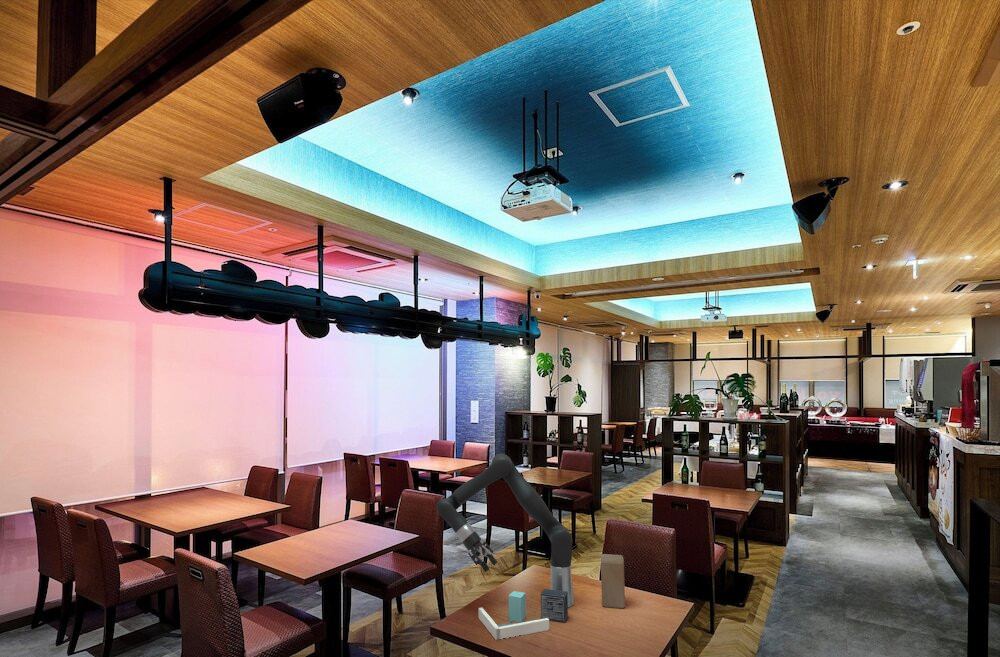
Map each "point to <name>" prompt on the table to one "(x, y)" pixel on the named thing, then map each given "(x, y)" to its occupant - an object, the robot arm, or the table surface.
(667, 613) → the table surface
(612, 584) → the block
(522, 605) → the teal block
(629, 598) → the table surface
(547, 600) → the small box
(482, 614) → the white l-shaped bracket
